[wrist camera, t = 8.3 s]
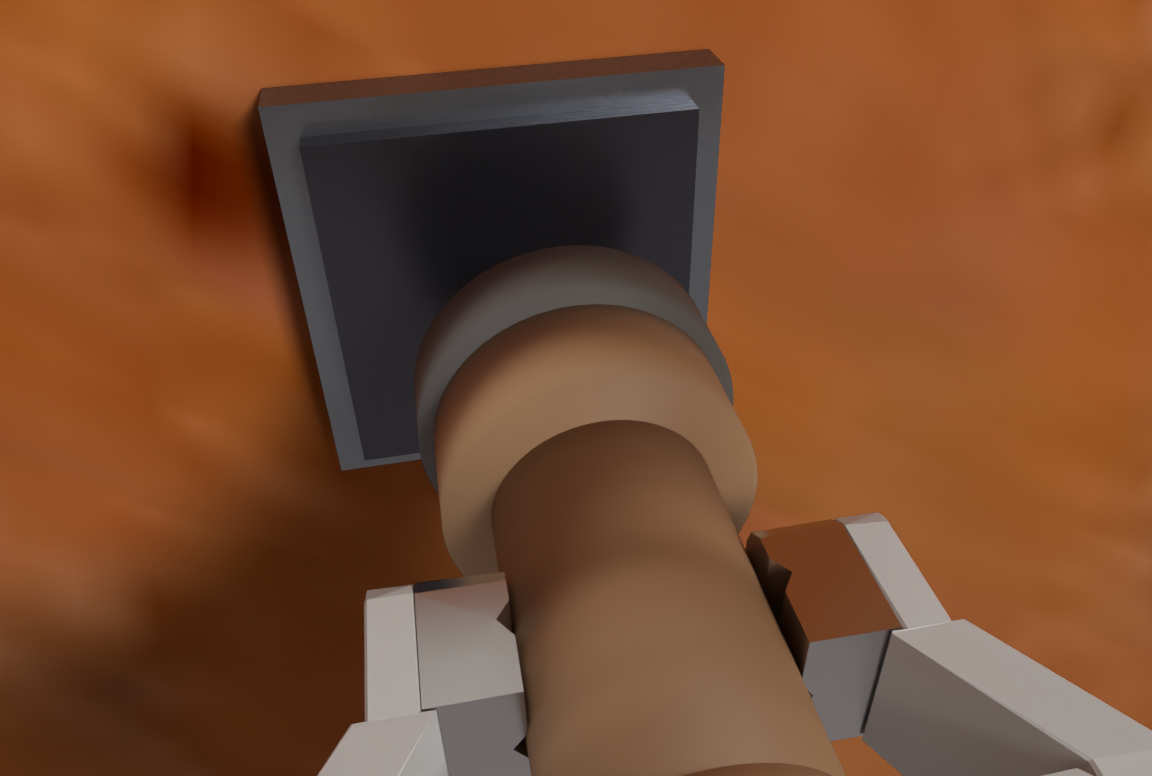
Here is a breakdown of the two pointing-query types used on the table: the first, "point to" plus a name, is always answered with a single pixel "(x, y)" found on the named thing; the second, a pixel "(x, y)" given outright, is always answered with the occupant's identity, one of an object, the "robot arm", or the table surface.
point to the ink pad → (477, 202)
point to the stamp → (612, 519)
